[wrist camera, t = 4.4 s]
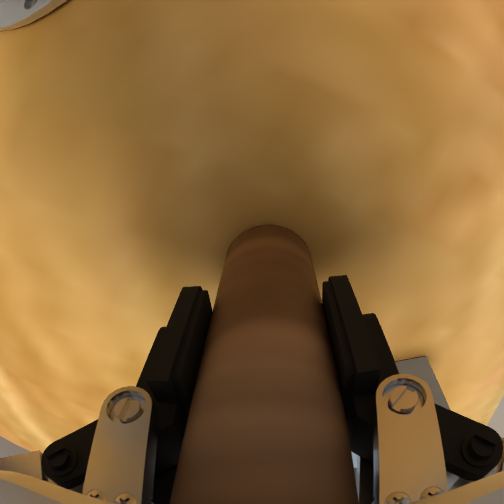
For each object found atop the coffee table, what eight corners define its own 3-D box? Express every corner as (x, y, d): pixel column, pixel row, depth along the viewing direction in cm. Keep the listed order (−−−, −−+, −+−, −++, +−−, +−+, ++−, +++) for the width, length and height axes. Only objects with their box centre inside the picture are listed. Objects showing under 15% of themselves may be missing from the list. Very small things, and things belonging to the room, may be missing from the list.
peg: (220, 229, 13) (116, 581, 2) (309, 221, 12) (392, 591, 2) (232, 302, 14) (188, 591, 4) (312, 297, 14) (349, 591, 3)
